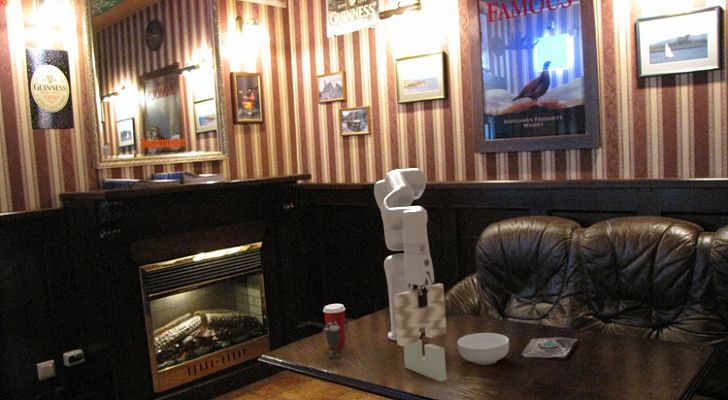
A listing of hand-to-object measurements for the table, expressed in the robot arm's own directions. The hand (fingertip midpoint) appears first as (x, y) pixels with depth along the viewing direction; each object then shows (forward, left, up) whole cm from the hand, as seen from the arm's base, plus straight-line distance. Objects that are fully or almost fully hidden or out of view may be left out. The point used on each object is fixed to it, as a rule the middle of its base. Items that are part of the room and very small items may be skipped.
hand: (420, 305), depth 207 cm
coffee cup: (+5, -46, -22) cm, 51 cm away
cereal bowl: (-21, +5, -22) cm, 31 cm away
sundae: (+12, -36, -22) cm, 44 cm away
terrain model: (-44, +12, -23) cm, 51 cm away
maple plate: (0, 0, -11) cm, 11 cm away
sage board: (0, 0, -22) cm, 22 cm away
